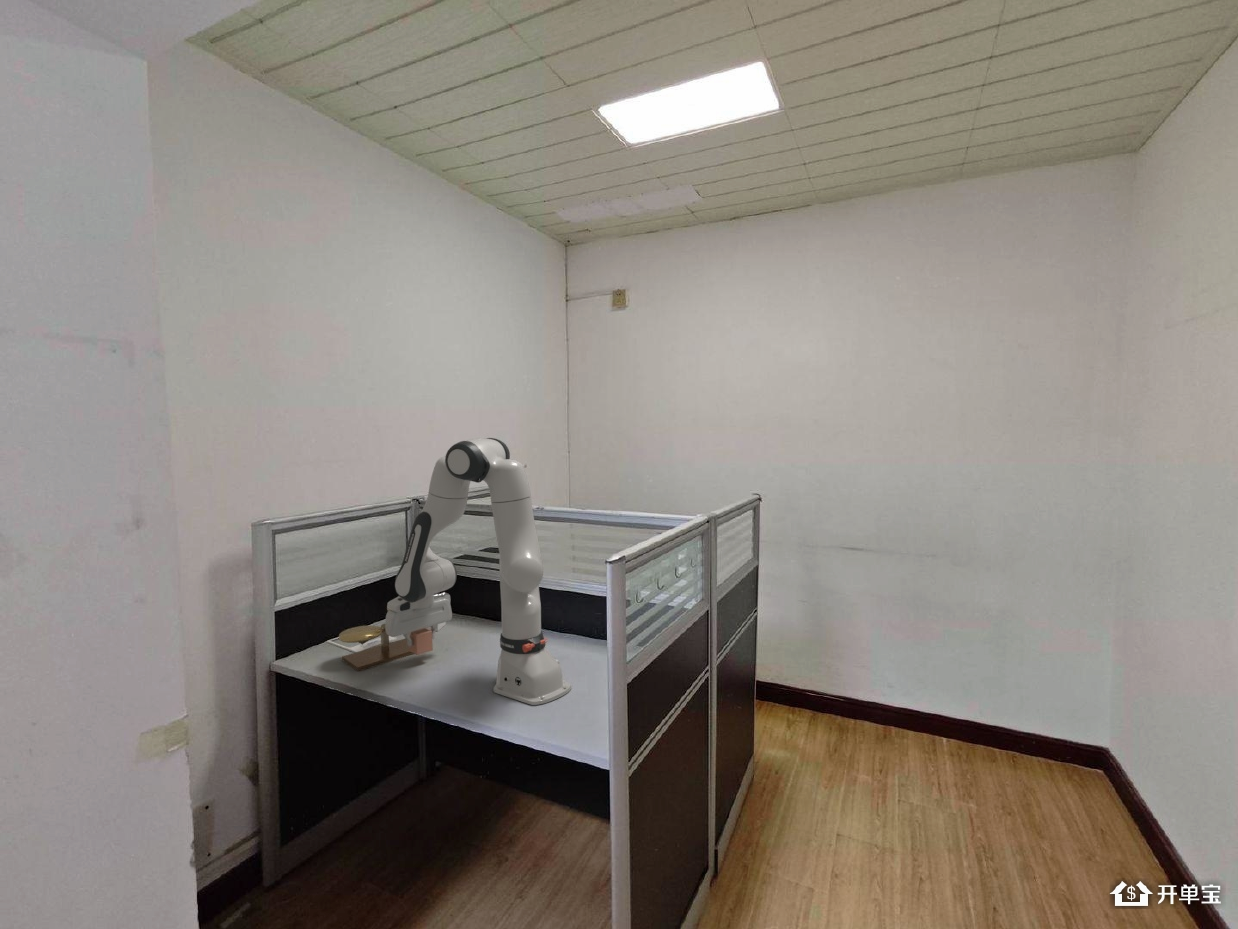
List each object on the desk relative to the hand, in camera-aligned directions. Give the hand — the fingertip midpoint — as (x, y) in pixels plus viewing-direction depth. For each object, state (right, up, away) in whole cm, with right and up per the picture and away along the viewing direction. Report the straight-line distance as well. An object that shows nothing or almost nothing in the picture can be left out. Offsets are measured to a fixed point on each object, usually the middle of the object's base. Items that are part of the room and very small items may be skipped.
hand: (420, 642), depth 169 cm
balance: (-14, -6, +6) cm, 16 cm away
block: (0, -3, 0) cm, 3 cm away
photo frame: (-27, -6, +18) cm, 33 cm away
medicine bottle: (-7, -5, +31) cm, 32 cm away
